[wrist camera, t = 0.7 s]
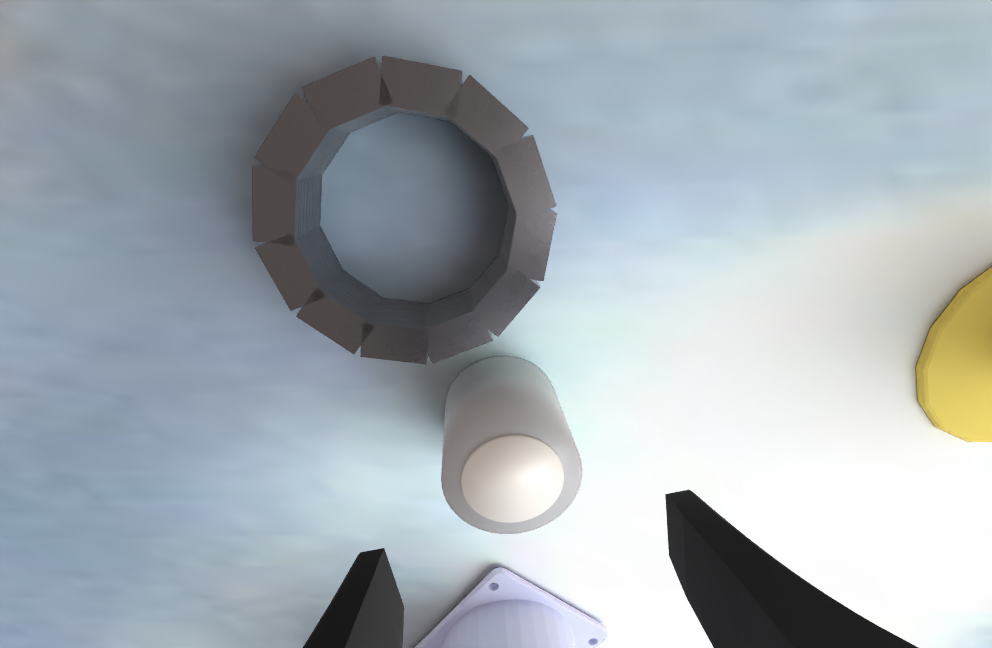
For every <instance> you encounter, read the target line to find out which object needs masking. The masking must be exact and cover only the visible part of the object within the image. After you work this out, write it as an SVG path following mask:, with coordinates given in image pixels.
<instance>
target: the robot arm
mask: <svg viewBox="0 0 992 648" xmlns="http://www.w3.org/2000/svg"><path fill="white" fill-rule="evenodd" d="M665 495H666V511H667V528H668V544H669V556H670V559H671V561H672V564H673V566H674V569H675V571H676V573H677V576H678V578H679V581H680V583H681V585H682V588H683V590H684V592H685V595H686V597H687V599H688V601H689V603H690V605H691V606H692V608H693V610H694V612H695V614H696V616H697V618H698V619H699V621H700V623H701V625H702V627H703V629H704V630H705V632H706V634H707V636H708V638H709V640H710V641H711V643H712V645H713V647H714V648H918V647H916V646H914V645H912V644H910V643H909V642H907V641H905V640H903V639H901V638H899V637H898V636H896V635H894V634H892V633H890V632H888V631H886V630H885V629H883V628H881V627H879V626H877V625H875V624H874V623H872V622H870V621H869V620H867V619H865V618H863V617H862V616H860V615H858V614H857V613H855V612H853V611H852V610H850V609H848V608H847V607H845V606H844V605H842V604H840V603H839V602H837V601H836V600H834V599H832V598H831V597H829V596H828V595H826V594H825V593H823V592H822V591H820V590H819V589H817V588H816V587H814V586H813V585H811V584H810V583H808V582H807V581H805V580H804V579H802V578H801V577H800V576H798V575H797V574H795V573H794V572H792V571H791V570H790V569H788V568H787V567H785V566H784V565H783V564H781V563H780V562H779V561H777V560H776V559H774V558H773V557H772V556H770V555H769V554H768V553H767V552H765V551H764V550H763V549H761V548H760V547H759V546H757V545H756V544H755V543H754V542H752V541H751V540H750V539H748V538H747V537H746V536H745V535H743V534H742V533H741V532H740V531H738V530H737V529H736V528H735V527H733V526H732V525H731V524H730V523H729V522H727V521H726V520H725V519H724V518H723V517H721V516H720V515H719V514H718V513H717V512H715V511H714V510H713V509H712V508H711V507H710V506H708V505H707V504H706V503H705V502H704V501H703V500H701V499H700V498H699V497H698V496H697V495H696V494H694V493H693V492H692V491H690V490H686V491H680V492H675V493H670V494H665ZM491 583H496V584H491ZM403 616H404V605H403V602H402V599H401V596H400V594H399V591H398V588H397V585H396V582H395V579H394V576H393V573H392V570H391V567H390V564H389V561H388V558H387V555H386V552H385V549H384V548H382V549H377V550H371V551H366V552H361V553H360V554H359V555H358V556H357V558H356V560H355V561H354V563H353V565H352V567H351V568H350V570H349V572H348V574H347V575H346V577H345V579H344V581H343V582H342V584H341V586H340V588H339V589H338V591H337V593H336V594H335V596H334V598H333V600H332V601H331V603H330V605H329V606H328V608H327V610H326V611H325V613H324V614H323V616H322V618H321V619H320V621H319V623H318V624H317V626H316V627H315V629H314V631H313V632H312V634H311V635H310V637H309V639H308V640H307V642H306V643H305V645H304V646H303V648H402V642H403ZM607 636H608V633H607V629H606V627H605V626H604V625H603V624H601V623H600V622H598V621H596V620H594V619H593V618H591V617H589V616H587V615H586V614H584V613H582V612H580V611H579V610H577V609H575V608H573V607H572V606H570V605H568V604H566V603H565V602H563V601H561V600H559V599H558V598H556V597H554V596H552V595H551V594H549V593H547V592H545V591H544V590H542V589H540V588H538V587H537V586H535V585H533V584H531V583H530V582H528V581H526V580H524V579H523V578H521V577H519V576H517V575H516V574H514V573H512V572H510V571H509V570H507V569H505V568H495V569H493V570H492V571H491V572H490V573H489V574H488V575H487V576H486V577H485V578H484V579H483V580H482V581H481V582H480V583H479V584H478V585H477V586H476V587H475V588H474V589H473V590H472V591H471V592H470V593H469V594H468V595H467V596H466V597H465V598H464V599H463V600H462V601H461V602H460V603H459V604H458V605H457V606H456V607H455V608H454V609H453V610H452V611H451V612H450V613H449V614H448V615H447V616H446V617H445V618H444V619H443V620H442V621H441V622H440V623H439V624H438V625H437V626H436V627H435V628H434V629H433V630H432V631H431V632H430V633H429V634H428V635H427V636H426V637H425V638H424V639H423V640H422V641H421V642H420V643H419V644H418V645H417V646H416V647H415V648H596V647H597V646H598V645H599V644H601V643H602V642H603V641H604V640H605V639H606V638H607Z"/></svg>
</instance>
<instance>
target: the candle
mask: <svg viewBox="0 0 992 648" xmlns="http://www.w3.org/2000/svg"><path fill="white" fill-rule="evenodd" d="M916 377H917V396H918V402H919V404H920V405H921V407H922V408H923V410H924V411H925V413H926V414H927V416H928V417H929V419H930V420H931V422H932V423H933V425H934V426H935V427H937V428H938V429H941V430H943V431H945V432H947V433H949V434H952V435H954V436H956V437H958V438H960V439H962V440H965V441H968V442H992V267H991V268H989V269H988V270H987V271H985V272H984V273H983V274H981V275H980V276H978V277H977V278H976V279H974V280H973V281H972V282H970V283H969V284H968V285H966V286H965V287H963V288H962V289H961V290H960V291H959V292H958V293H957V295H956V296H955V297H954V298H953V300H952V301H951V302H950V304H949V305H948V306H947V307H946V309H945V310H944V311H943V313H942V314H941V315H940V316H939V318H938V319H937V320H936V321H935V323H934V324H933V325H932V327H931V328H930V331H929V333H928V336H927V339H926V341H925V344H924V347H923V349H922V352H921V355H920V358H919V360H918V363H917V366H916Z"/></svg>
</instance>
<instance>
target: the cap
mask: <svg viewBox="0 0 992 648" xmlns="http://www.w3.org/2000/svg"><path fill="white" fill-rule="evenodd" d="M581 479H582V463H581V459H580V455H579V452H578V450H577V447H576V445H575V442H574V439H573V437H572V434H571V432H570V429H569V426H568V424H567V421H566V419H565V416H564V414H563V411H562V408H561V406H560V403H559V401H558V398H557V395H556V393H555V390H554V388H553V386H552V383H551V381H550V380H549V378H548V377H547V376H546V374H545V373H544V372H543V371H542V370H541V369H539V368H538V367H537V366H535V365H534V364H532V363H530V362H528V361H526V360H523V359H520V358H517V357H511V356H495V357H490V358H486V359H483V360H480V361H478V362H475V363H473V364H472V365H470V366H468V367H467V368H466V369H465V370H463V371H462V372H461V373H460V374H459V375H458V376H457V377H456V379H455V380H454V381H453V383H452V385H451V387H450V388H449V391H448V394H447V398H446V405H445V422H444V440H443V457H442V475H441V482H442V489H443V493H444V496H445V498H446V501H447V503H448V504H449V506H450V507H451V509H452V510H453V511H454V512H455V513H456V514H457V515H458V516H459V517H460V518H461V519H462V520H464V521H465V522H467V523H468V524H470V525H472V526H474V527H476V528H478V529H481V530H484V531H488V532H492V533H500V534H514V533H522V532H527V531H531V530H534V529H537V528H539V527H542V526H544V525H546V524H548V523H550V522H551V521H553V520H554V519H556V518H557V517H558V516H560V515H561V514H562V513H563V512H564V511H565V510H566V509H567V508H568V507H569V506H570V504H571V503H572V501H573V500H574V498H575V497H576V495H577V493H578V490H579V487H580V484H581Z"/></svg>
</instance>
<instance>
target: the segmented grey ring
mask: <svg viewBox="0 0 992 648" xmlns="http://www.w3.org/2000/svg"><path fill="white" fill-rule="evenodd" d="M461 85H462V71H460V70H455V69H450V68H444V67H439V66H434V65H429V64H423V63H418V62H413V61H407V60H402V59H397V58H392V57H386V56H382V64H381V63H380V62H379V61H378V60H377V59H376V58H375V57H372V58H370V59H367V60H365V61H363V62H360V63H358V64H356V65H353V66H351V67H349V68H346V69H344V70H342V71H339V72H337V73H335V74H332V75H330V76H328V77H325V78H323V79H320V80H318V81H316V82H313V83H311V84H309V85H306V86H304V87H302V90H303V92H304V94H305V96H303V95H300V94H297V93H295V94H294V96H293V97H292V99H291V100H290V102H289V104H288V105H287V107H286V108H285V110H284V112H283V113H282V115H281V116H280V118H279V120H278V121H277V123H276V124H275V126H274V127H273V129H272V131H271V132H270V134H269V135H268V137H267V139H266V140H265V142H264V143H263V145H262V147H261V148H260V150H259V151H258V153H257V154H256V156H255V159H257V160H258V161H259V162H261V163H262V164H263V165H252V197H253V241H260V242H266V243H264V244H262V245H260V246H258V247H256V248H255V249H256V251H257V252H258V254H259V256H260V258H261V259H262V261H263V263H264V265H265V267H266V268H267V270H268V272H269V274H270V275H271V277H272V279H273V281H274V282H275V284H276V286H277V288H278V289H279V291H280V293H281V295H282V296H283V298H284V300H285V302H286V303H287V305H288V307H289V309H290V310H291V311H292V310H295V309H297V308H300V307H302V306H303V307H302V309H301V310H300V311H299V313H298V314H297V316H296V317H298V318H299V319H301V320H302V321H304V322H305V323H307V324H308V325H310V326H312V327H313V328H315V329H316V330H318V331H319V332H321V333H322V334H324V335H325V336H327V337H328V338H330V339H331V340H333V341H334V342H336V343H337V344H339V345H341V346H342V347H344V348H345V349H347V350H348V351H350V352H351V353H353V354H354V353H355V352H356V351H357V350H358V348H359V347H360V346H361V357H368V358H377V359H385V360H394V361H403V362H411V363H420V364H426V361H427V355H429V357H430V359H431V361H432V363H435V362H438V361H440V360H443V359H446V358H448V357H451V356H453V355H456V354H459V353H461V352H464V351H467V350H469V349H472V348H475V347H477V346H480V345H482V344H485V343H488V342H490V341H493V340H492V334H491V332H492V333H494V334H495V335H496V336H499V335H500V334H501V333H502V332H503V330H504V329H505V328H506V327H507V326H508V325H509V323H510V322H511V321H512V320H513V319H514V318H515V316H516V315H517V314H518V313H519V312H520V311H521V309H522V308H523V307H524V306H525V305H526V304H527V302H528V301H529V300H530V299H531V298H532V297H533V295H534V294H535V293H536V292H537V291H538V290H539V288H540V286H539V284H538V282H537V281H536V280H539V281H544V276H545V271H546V265H547V260H548V255H549V250H550V245H551V240H552V235H553V230H554V225H555V220H556V215H557V213H555V212H554V211H552V210H551V209H550V208H553V207H555V206H556V203H555V200H554V197H553V194H552V191H551V188H550V185H549V182H548V179H547V176H546V173H545V170H544V167H543V164H542V160H541V157H540V154H539V151H538V148H537V145H536V142H535V139H534V136H533V135H530V136H523V135H524V134H525V132H526V131H527V130H528V127H527V126H526V125H525V124H524V123H523V122H521V121H520V120H519V119H518V118H517V117H516V116H515V115H514V114H513V113H511V112H510V111H509V110H508V109H507V108H506V107H505V106H504V105H503V104H502V103H500V102H499V101H498V100H497V99H496V98H495V97H494V96H493V95H492V94H490V93H489V92H488V91H487V90H486V89H485V88H484V87H483V86H482V85H481V84H479V83H478V82H477V81H476V80H475V79H474V78H473V77H472V76H471V75H469V76H468V78H467V79H466V80H465V82H464V83H463V85H462V86H461ZM398 112H400V113H406V114H411V115H417V116H423V117H428V118H434V119H440V120H445V121H451V122H452V123H453V124H454V125H455V126H457V127H458V128H459V129H460V130H461V131H462V132H464V133H465V134H466V135H467V136H468V137H469V138H471V139H472V140H473V141H474V142H475V143H476V144H478V145H479V146H480V147H481V148H482V149H483V150H485V151H486V152H487V153H488V154H489V155H490V156H491V157H492V160H493V163H494V166H495V168H496V171H497V174H498V177H499V179H500V182H501V185H502V188H503V190H504V193H505V196H506V199H507V201H508V210H507V216H506V222H505V228H504V234H503V240H502V246H501V252H500V253H499V254H498V256H497V257H496V258H495V259H494V260H493V262H492V263H491V264H490V265H489V267H488V268H487V269H486V270H485V272H484V273H483V274H482V275H481V276H480V278H479V279H478V280H477V281H476V283H475V284H474V285H473V286H472V288H469V289H466V290H464V291H461V292H459V293H456V294H454V295H451V296H448V297H446V298H443V299H441V300H438V301H436V302H433V303H430V304H425V303H417V302H409V301H402V300H394V299H386V298H382V297H380V296H379V295H378V294H376V293H375V292H373V291H372V290H370V289H369V288H368V287H366V286H365V285H363V284H362V283H361V282H359V281H358V280H356V279H355V278H353V277H352V276H351V275H349V274H348V273H346V272H345V271H343V269H342V267H341V266H340V264H339V262H338V260H337V258H336V256H335V254H334V252H333V250H332V248H331V246H330V244H329V242H328V240H327V238H326V236H325V234H324V232H323V230H322V228H321V226H320V212H321V186H322V174H323V172H324V171H325V169H326V168H327V166H328V165H329V163H330V162H331V160H332V159H333V158H334V156H335V155H336V153H337V152H338V150H339V149H340V147H341V146H342V144H343V143H344V141H345V140H346V138H347V137H348V135H349V134H350V132H352V131H355V130H357V129H360V128H362V127H364V126H367V125H369V124H372V123H374V122H376V121H379V120H381V119H384V118H386V117H388V116H391V115H393V114H396V113H398ZM522 136H523V137H522Z"/></svg>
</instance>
